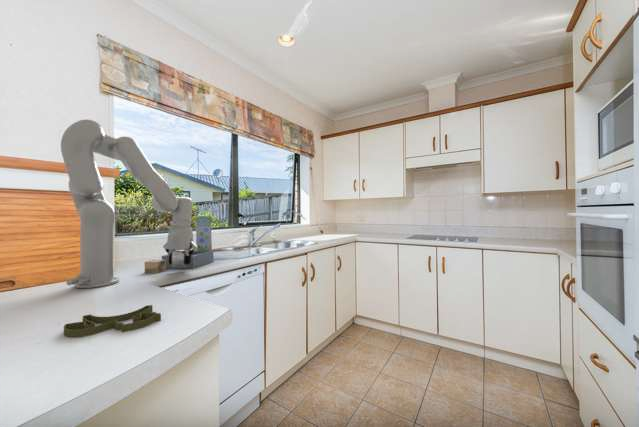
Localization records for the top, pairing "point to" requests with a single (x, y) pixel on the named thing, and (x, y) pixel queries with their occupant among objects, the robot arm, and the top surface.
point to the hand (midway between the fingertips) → (179, 263)
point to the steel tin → (178, 258)
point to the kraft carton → (155, 266)
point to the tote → (194, 259)
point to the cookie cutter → (112, 323)
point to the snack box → (203, 233)
